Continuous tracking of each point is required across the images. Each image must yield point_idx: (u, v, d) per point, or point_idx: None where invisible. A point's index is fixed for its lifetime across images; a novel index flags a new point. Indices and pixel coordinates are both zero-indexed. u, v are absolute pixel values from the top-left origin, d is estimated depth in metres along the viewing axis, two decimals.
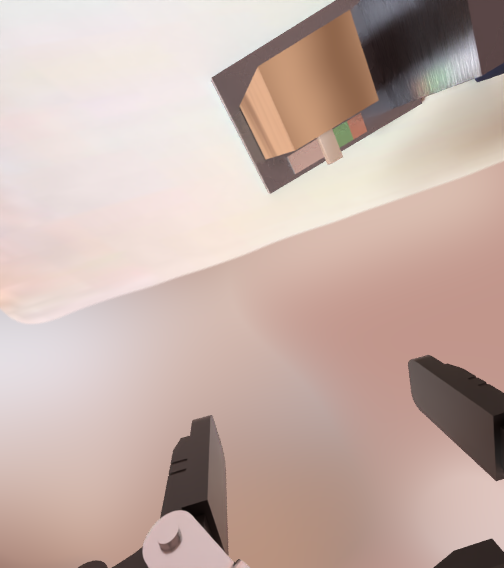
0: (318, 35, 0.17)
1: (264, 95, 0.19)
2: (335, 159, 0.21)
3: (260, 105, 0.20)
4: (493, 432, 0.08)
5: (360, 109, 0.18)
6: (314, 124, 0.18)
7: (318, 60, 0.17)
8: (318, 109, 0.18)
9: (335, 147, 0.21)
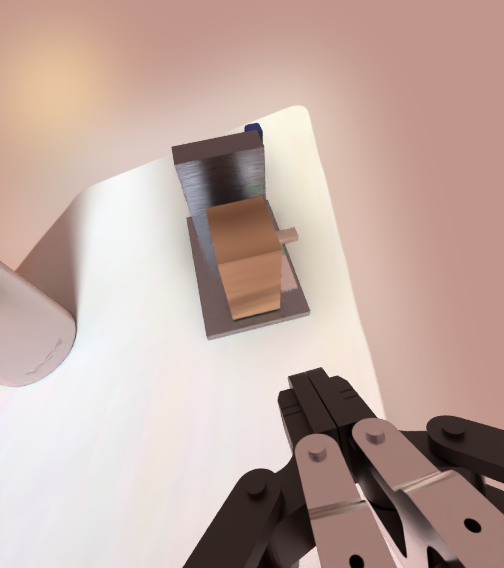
0: (212, 226, 0.24)
1: (236, 270, 0.23)
2: (295, 232, 0.26)
3: (240, 282, 0.25)
4: (342, 441, 0.09)
5: (265, 206, 0.25)
6: (267, 234, 0.23)
7: (226, 227, 0.24)
8: (257, 231, 0.23)
9: (286, 231, 0.26)
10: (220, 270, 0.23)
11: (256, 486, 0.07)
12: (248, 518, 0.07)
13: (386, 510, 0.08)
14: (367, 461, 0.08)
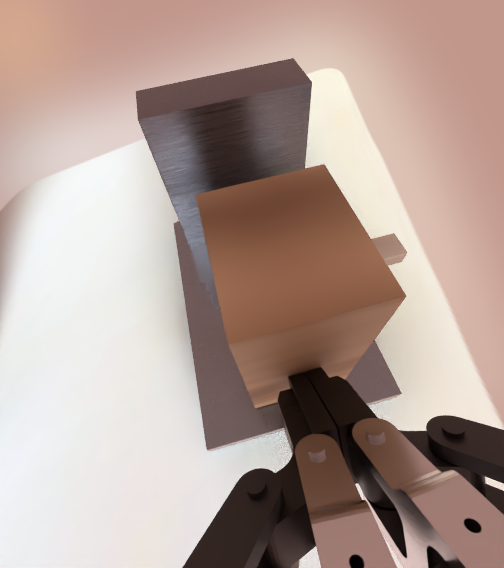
0: (212, 235, 0.10)
1: (276, 347, 0.09)
2: (398, 244, 0.11)
3: (281, 364, 0.11)
4: (342, 441, 0.09)
5: (335, 186, 0.11)
6: (354, 254, 0.09)
7: (247, 238, 0.10)
8: (327, 245, 0.09)
9: (377, 243, 0.12)
10: (236, 353, 0.08)
11: (256, 486, 0.07)
12: (248, 518, 0.07)
13: (386, 510, 0.08)
14: (367, 461, 0.08)
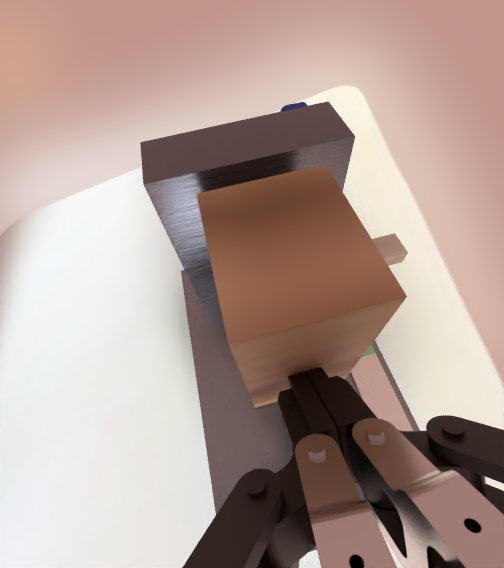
0: (213, 234, 0.10)
1: (277, 347, 0.09)
2: (399, 244, 0.11)
3: (281, 364, 0.11)
4: (342, 441, 0.09)
5: (335, 186, 0.11)
6: (355, 255, 0.09)
7: (247, 238, 0.10)
8: (328, 245, 0.09)
9: (378, 243, 0.12)
10: (236, 352, 0.08)
11: (256, 486, 0.07)
12: (248, 518, 0.07)
13: (386, 510, 0.08)
14: (367, 461, 0.08)
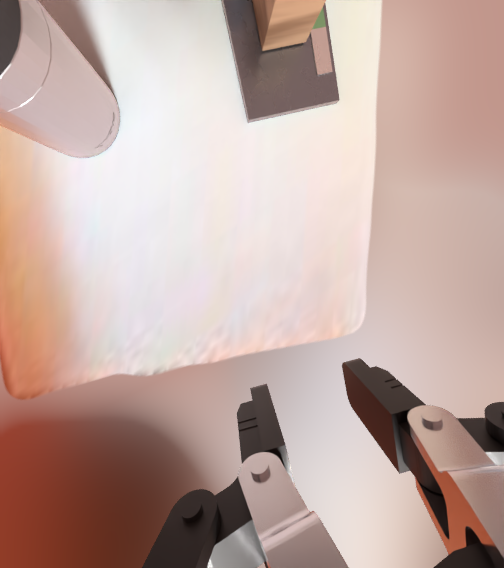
0: None
1: None
2: None
3: (289, 4, 0.26)
4: (394, 429, 0.09)
5: None
6: None
7: None
8: None
9: None
10: None
11: (192, 508, 0.07)
12: (177, 544, 0.06)
13: (436, 495, 0.08)
14: None
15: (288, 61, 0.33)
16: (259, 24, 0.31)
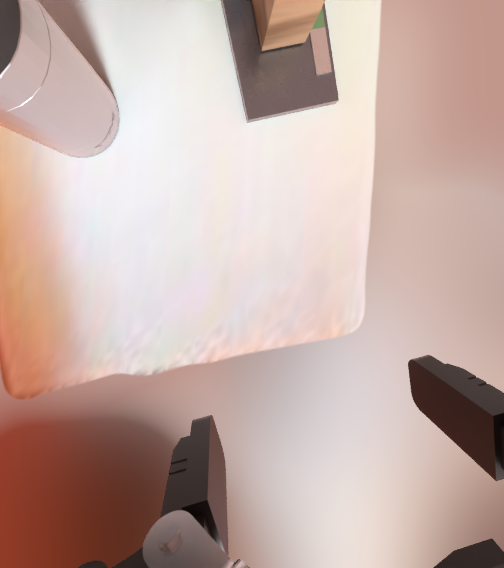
0: None
1: None
2: None
3: (289, 4, 0.26)
4: (493, 432, 0.08)
5: None
6: None
7: None
8: None
9: None
10: None
11: None
12: None
13: None
14: None
15: (287, 61, 0.33)
16: (258, 24, 0.31)
